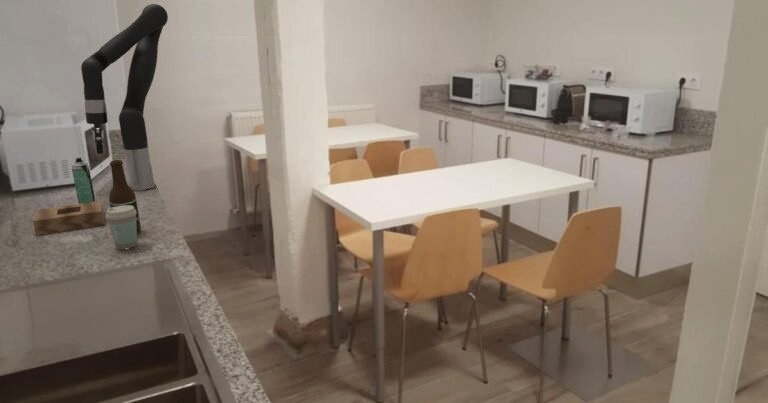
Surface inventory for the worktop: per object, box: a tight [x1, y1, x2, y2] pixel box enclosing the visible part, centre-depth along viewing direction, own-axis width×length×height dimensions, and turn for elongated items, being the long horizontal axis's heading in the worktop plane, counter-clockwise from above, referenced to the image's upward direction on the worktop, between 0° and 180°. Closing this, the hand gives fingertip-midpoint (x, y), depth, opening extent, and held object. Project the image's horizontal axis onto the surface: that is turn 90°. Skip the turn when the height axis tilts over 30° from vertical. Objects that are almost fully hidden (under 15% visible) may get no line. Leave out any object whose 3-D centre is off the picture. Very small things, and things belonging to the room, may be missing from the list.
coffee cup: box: [105, 205, 138, 250], centre depth 169 cm, size 8×8×12 cm
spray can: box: [71, 157, 96, 204], centre depth 204 cm, size 6×6×20 cm
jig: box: [32, 200, 105, 236], centre depth 192 cm, size 20×14×5 cm
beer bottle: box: [108, 159, 142, 234], centre depth 179 cm, size 8×8×24 cm
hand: (100, 151), depth 225 cm, fingers open, 8 cm apart
